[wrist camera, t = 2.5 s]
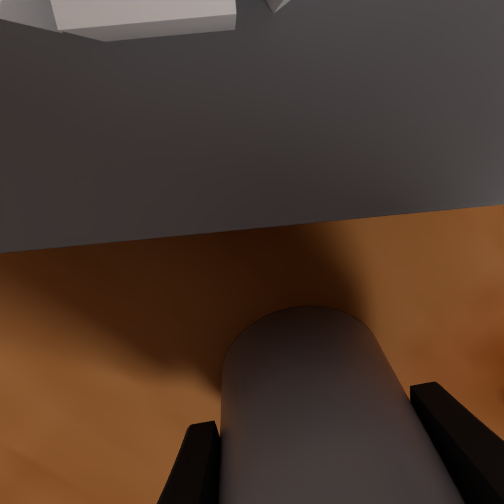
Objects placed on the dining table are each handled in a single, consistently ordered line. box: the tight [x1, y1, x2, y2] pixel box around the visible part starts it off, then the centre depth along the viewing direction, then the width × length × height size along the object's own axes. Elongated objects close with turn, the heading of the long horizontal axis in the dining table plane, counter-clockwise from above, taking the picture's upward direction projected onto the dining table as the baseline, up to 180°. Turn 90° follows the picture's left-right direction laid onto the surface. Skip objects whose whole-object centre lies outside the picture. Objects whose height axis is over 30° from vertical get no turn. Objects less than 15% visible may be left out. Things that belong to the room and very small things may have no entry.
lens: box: [218, 306, 466, 504], centre depth 8 cm, size 5×5×7 cm
